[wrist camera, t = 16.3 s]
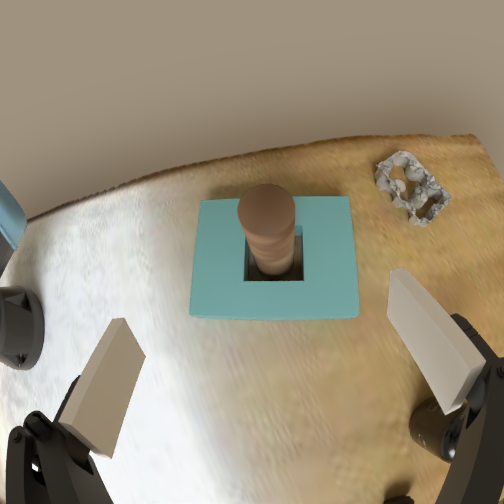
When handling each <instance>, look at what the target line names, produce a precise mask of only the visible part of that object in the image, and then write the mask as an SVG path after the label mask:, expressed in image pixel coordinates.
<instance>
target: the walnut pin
mask: <svg viewBox="0 0 504 504" xmlns="http://www.w3.org/2000/svg"><path fill="white" fill-rule="evenodd" d="M237 214H238V218H239V221H240V223H241V226H242V228H243V231H244V234H245V236H246V239H247V241H248V244H249V247H250V249H251V252H252V254H253V257H254V259H255V262H256V265H257V267H258V270H259V271H260V273H261V274H262V275H263V276H264V277H266V278H268V279H271V280H279V279H282V278H285V277H286V276H287V275H289V273H290V272H291V271H292V269H293V266H294V245H295V202H294V200H293V197H292V196H291V195H290V193H289V192H288V191H287V190H285V189H284V188H282V187H280V186H277V185H273V184H262V185H258V186H255V187H253V188H251V189H249V190H248V191H247V192H246V193H245V194H244V195H243V196H242V197H241V199H240V201H239V203H238V207H237Z"/></svg>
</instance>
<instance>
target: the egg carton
mask: <svg viewBox="0 0 504 504" xmlns="http://www.w3.org/2000/svg"><path fill="white" fill-rule="evenodd" d="M393 165H395V166H400V165H402V166H403V167H404V168H405V169H406V170H405V176H406V177H407V178H408V179H409V180H410V181H418V182H419V183H420V184H421V185H422V186H417V187H415V189H414V191H413V192H412V194H411V195H410V197H409V200H401V198H400V192H404V191H405V190H406V185H405V183H404V181H402V180H401V179H394V180H392V179H391V178H390V176H389V173H390V171H391V169H392V167H393ZM375 166H378V169H377V171H376V173H375V176H374V177H375V179H376V187H377V188H378V189H379V190H380V191H381V190H386V191H388V192H390V193H391V194H392V196H393V202H392V204H394V205H395V206H396V207H397V208H399V207H403V208H405V209H406V210H407V211H408V212H409V214H410V218H409V222H410V223H411V224H412V225H413V226H415V225H420V226H421V227H423V228H424V227H425V226H426V225H428V223H430V222H431V221H432V220H433V219H434V217H435V216H436V215H437V214H438V213H439V212H440V211H441V210H442V209H443V208H444V206H446V205H447V203H448V202H449V201H450V199H451V197H452V195H451V194H450V193H448V192H447V191H446V190H445V189H444V188H442V187H441V186H440V185H439V182H436V181H435V178H434V176H433V175H432V174H430V173H429V172H428V171H427V170H426V168H424V167H423V166H422V165H421V164H420V163H419V161H418V160H417V159H416V158H415V156H414V155H413V154H411V153H409V152H405V151H398V152H396V153H395V154H394V155H392V156H390V157H389V158H388V159H387V160H385V161H384V162H383V161H382V162H380V163H377V164H376V165H375ZM431 197H434V198H435V199H436V201H437V203H436V204H433V205H432V207H431V208H430V209H429V210H428V212H427V213H426V214H425V218H423V217H422V218H421V219H418V217H416V215H415V213H416V212H415V210H416V209H421V208H422V206H423V205H424V204H425V202H426V201H427V200H428V198H431Z"/></svg>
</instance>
